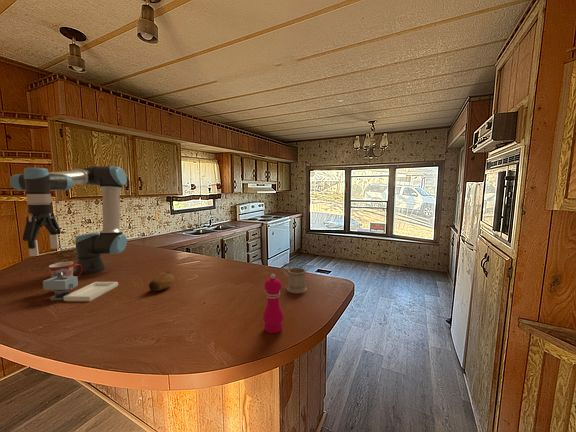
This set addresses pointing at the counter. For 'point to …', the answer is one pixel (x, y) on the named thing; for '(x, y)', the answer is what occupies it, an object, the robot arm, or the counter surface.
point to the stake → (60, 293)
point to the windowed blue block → (60, 283)
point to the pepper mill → (273, 306)
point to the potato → (161, 281)
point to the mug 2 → (296, 279)
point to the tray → (91, 291)
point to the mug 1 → (68, 267)
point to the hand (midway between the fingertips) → (45, 252)
